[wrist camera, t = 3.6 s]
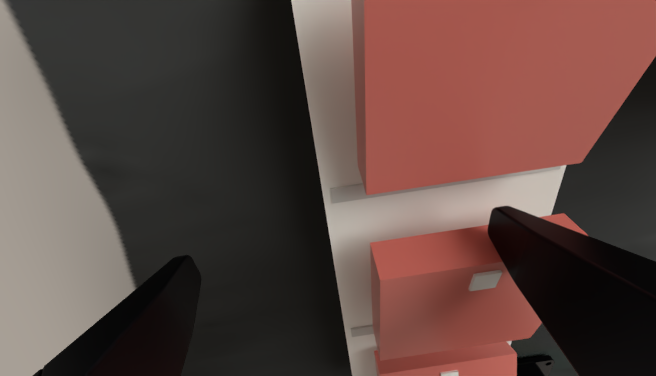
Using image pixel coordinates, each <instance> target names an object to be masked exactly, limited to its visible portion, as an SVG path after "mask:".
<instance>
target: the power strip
mask: <svg viewBox="0 0 656 376" xmlns="http://www.w3.org/2000/svg"><path fill="white" fill-rule="evenodd" d="M291 2H292V8H293V14H294V20H295V27H296V33H297V39H298V45H299V51H300V57H301V64H302V70H303V76H304V82H305V88H306V94H307V100H308V107H309V113H310V119H311V125H312V131H313V137H314V144H315V150H316V156H317V162H318V168H319V174H320V180H321V187H322V193H323V199H324V205H325V211H326V217H327V223H328V230H329V236H330V242H331V248H332V254H333V260H334V267H335V273H336V279H337V285H338V291H339V297H340V303H341V310H342V316H343V322H344V328H345V334H346V340H347V347H348V353H349V359H350V365H351V371H352V376H377V371H376V363H375V356H374V351H375V350H378V349H377V345H376V340H375V336H374V331H373V322H372V292H371V262H370V243H371V242H378V241H384V240H391V239H398V238H404V237H411V236H417V235H424V234H431V233H437V232H444V231H450V230H457V229H464V228H470V227H477V226H483V225H488V224H489V219H490V215H491V211H492V209H493V208H495V207H500V206H511V207H513V208H516V209H519V210H521V211H524V212H526V213H529V214H532V215H534V216H537V217H543V216H549V215H551V213H552V210H553V207H554V204H555V200H556V197H557V194H558V191H559V187H560V184H561V181H562V178H563V175H564V171H565V168H566V165H563V166H557V167H550V168H543V169H537V170H530V171H524V172H517V173H510V174H504V175H497V176H491V177H484V178H477V179H471V180H464V181H457V182H451V183H444V184H438V185H431V186H424V187H418V188H411V189H405V190H398V191H391V192H385V193H378V194H372V195H366V192H365V189H364V185H363V182H362V178H361V175H360V171H359V168H358V160H357V134H356V108H355V83H354V57H353V31H352V6H351V0H291ZM506 342H507V343H508V344H509V345H511V342H512V341H506Z"/></svg>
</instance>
